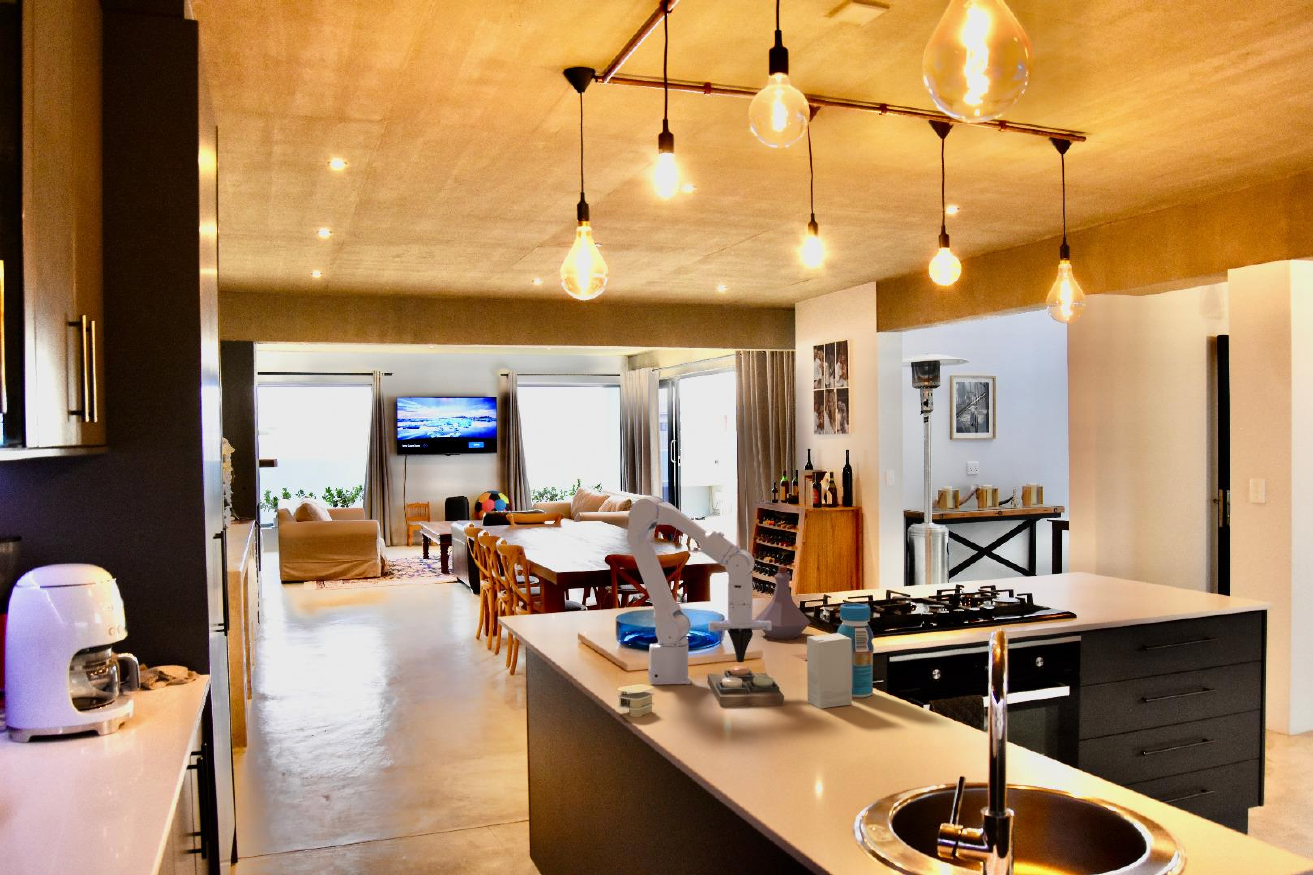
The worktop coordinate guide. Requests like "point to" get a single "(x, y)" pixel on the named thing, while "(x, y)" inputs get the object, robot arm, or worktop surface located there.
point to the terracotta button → (739, 670)
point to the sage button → (762, 681)
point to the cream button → (732, 682)
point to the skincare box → (829, 670)
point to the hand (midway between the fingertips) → (740, 661)
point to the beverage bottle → (859, 646)
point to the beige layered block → (636, 699)
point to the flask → (783, 611)
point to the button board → (744, 691)
